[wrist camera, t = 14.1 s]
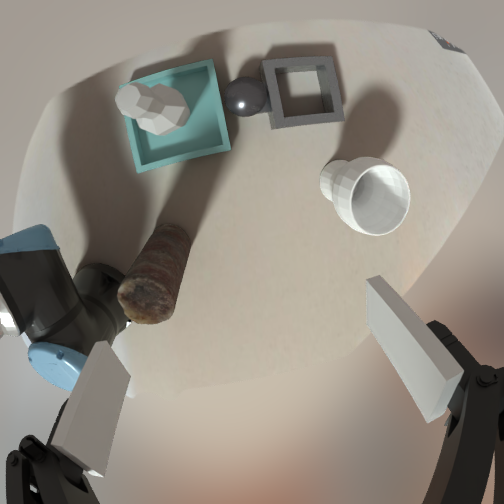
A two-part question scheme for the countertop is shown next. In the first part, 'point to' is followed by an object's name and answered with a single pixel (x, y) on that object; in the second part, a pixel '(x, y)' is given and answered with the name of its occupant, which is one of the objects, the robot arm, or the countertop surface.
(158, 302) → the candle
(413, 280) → the countertop surface
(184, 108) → the grey faceted bottle
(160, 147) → the tray
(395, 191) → the cup
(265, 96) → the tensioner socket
